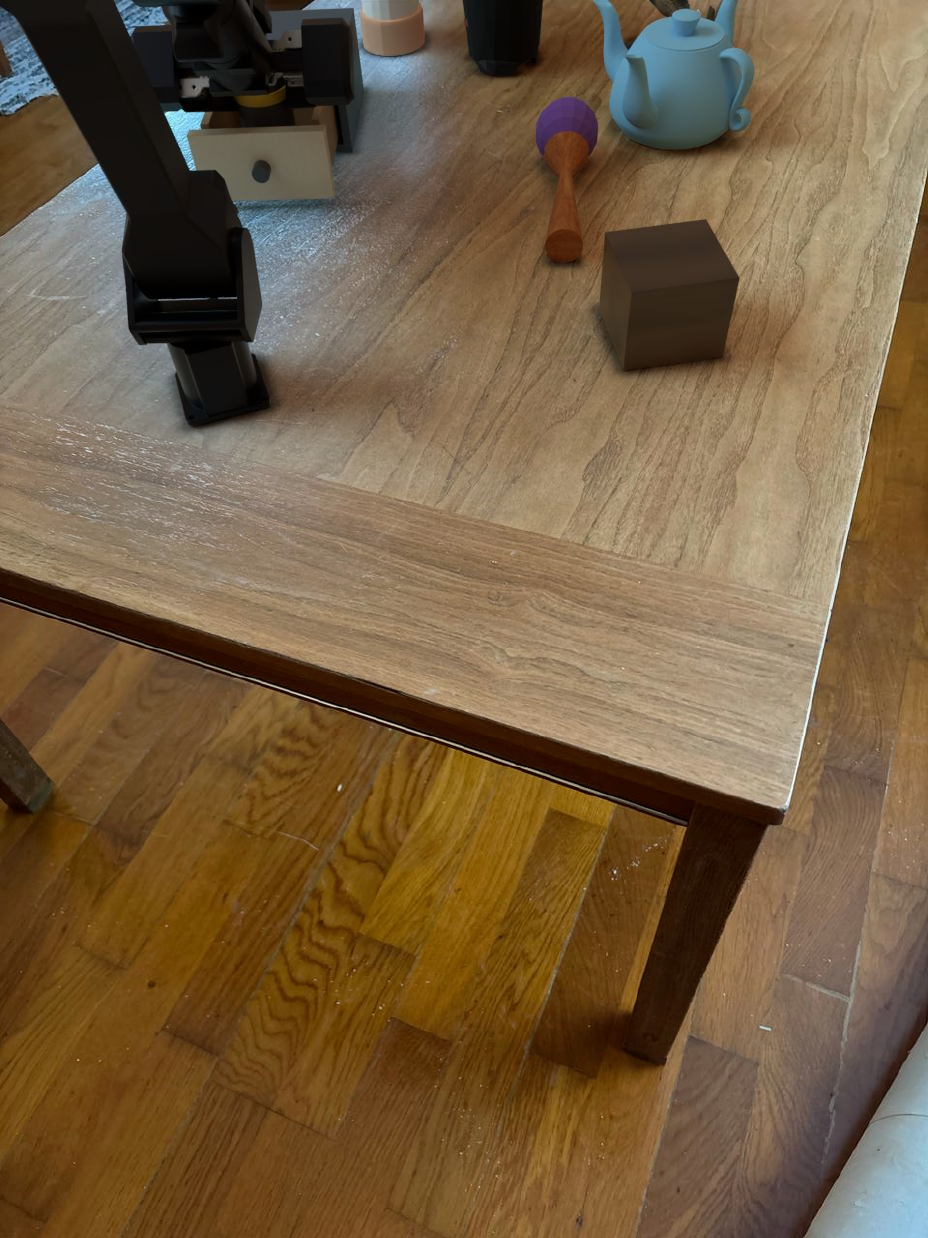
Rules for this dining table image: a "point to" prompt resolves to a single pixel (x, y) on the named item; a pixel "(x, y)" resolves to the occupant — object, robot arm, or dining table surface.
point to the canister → (266, 108)
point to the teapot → (677, 78)
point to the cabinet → (350, 112)
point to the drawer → (270, 155)
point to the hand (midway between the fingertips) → (268, 104)
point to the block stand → (666, 294)
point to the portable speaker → (502, 33)
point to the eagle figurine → (668, 3)
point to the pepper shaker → (392, 26)
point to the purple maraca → (565, 169)
